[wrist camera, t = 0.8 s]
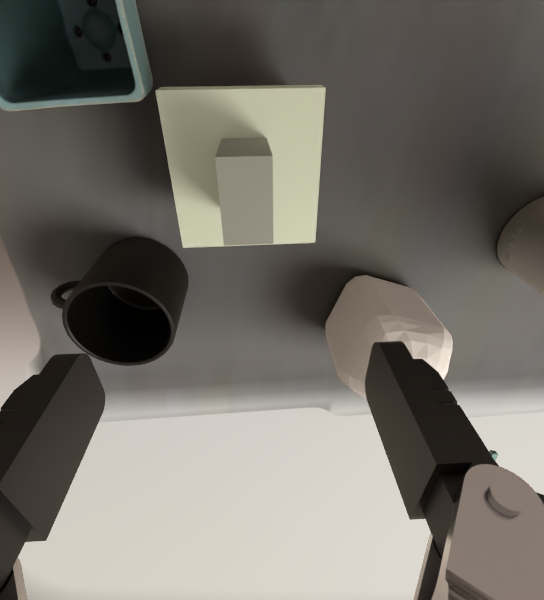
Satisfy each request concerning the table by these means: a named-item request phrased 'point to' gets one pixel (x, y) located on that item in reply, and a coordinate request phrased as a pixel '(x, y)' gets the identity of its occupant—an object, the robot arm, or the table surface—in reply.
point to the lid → (244, 162)
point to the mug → (126, 303)
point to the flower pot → (71, 54)
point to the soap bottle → (383, 329)
